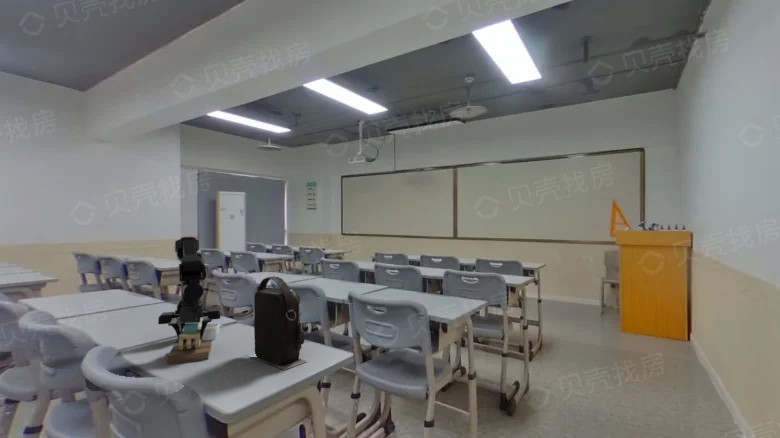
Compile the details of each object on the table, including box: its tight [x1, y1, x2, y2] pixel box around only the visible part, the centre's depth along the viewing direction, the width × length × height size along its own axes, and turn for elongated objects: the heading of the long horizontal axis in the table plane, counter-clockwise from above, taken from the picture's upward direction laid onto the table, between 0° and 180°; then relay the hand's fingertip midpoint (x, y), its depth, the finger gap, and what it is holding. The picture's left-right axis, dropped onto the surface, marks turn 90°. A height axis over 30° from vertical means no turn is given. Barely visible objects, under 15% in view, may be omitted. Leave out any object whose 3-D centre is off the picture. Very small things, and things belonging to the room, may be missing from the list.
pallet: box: [178, 327, 202, 350], centre depth 126 cm, size 10×6×4 cm, turn 22°
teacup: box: [198, 322, 224, 342], centre depth 144 cm, size 10×8×5 cm
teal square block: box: [184, 322, 199, 333], centre depth 126 cm, size 4×4×2 cm
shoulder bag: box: [253, 276, 308, 371], centre depth 123 cm, size 23×9×28 cm, turn 53°
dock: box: [166, 340, 212, 365], centre depth 125 cm, size 13×12×2 cm
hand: (190, 340), depth 126 cm, fingers closed on pallet, 6 cm apart
